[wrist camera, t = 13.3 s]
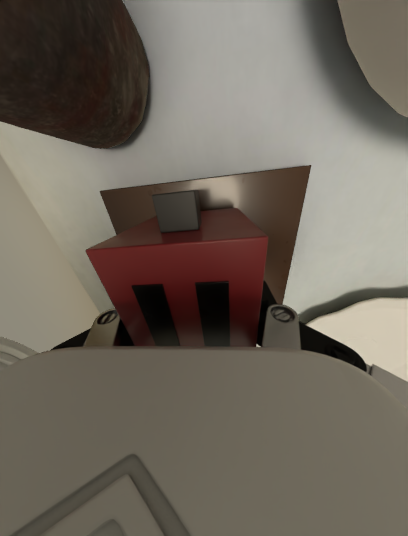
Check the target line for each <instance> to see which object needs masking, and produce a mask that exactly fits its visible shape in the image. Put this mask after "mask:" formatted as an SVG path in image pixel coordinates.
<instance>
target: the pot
mask: <svg viewBox="0 0 408 536" xmlns="http://www.w3.org/2000/svg"><path fill="white" fill-rule="evenodd" d="M337 1H338V5H339V9H340V13H341V17H342V21H343V25H344V29H345V33H346V37H347V41H348V44H349V46H350V48H351V50H352V52H353V54H354V56H355V58H356V60H357V62H358V64H359V66H360V67H361V69H362V71H363V73H364V75H365V77H366V79H367V81H368V83H369V85H370V86H371V87H372V88H373V89H374V90H375V91H376V92H377V93H378V94H379V95H380V96H381V97H382V98H383V99H384V100H385V101H386V102H387V103H388V104H389V105H390V106H391V107H392V108H393V109H394V110H395V111H396V112H397V113H399V114H401V115H403V116H405V117H408V0H337Z"/></svg>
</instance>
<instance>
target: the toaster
mask: <svg viewBox="0 0 408 536" xmlns="http://www.w3.org/2000/svg"><path fill="white" fill-rule="evenodd" d="M152 200H153V204H154V208H155V212H156V216H155V217H153V218H151V219H149V220H147V221H145V222H143V223H141V224H139V225H137V226H134V227H132V228H130V229H128V230H126V231H124V232H122V233H120V234H118V235H116V236H114V237H112V238H109V239H107V240H105V241H103V242H101V243H99V244H97V245H95V246H93V247H91V248H89V249H87V250H86V253H87V255H88V257H89V259H90V261H91V263H92V265H93V267H94V268H95V270H96V272H97V274H98V276H99V278H100V280H101V282H102V284H103V286H104V288H105V290H106V291H107V293H108V295H109V297H110V299H111V301H112V303H113V305H114V307H115V309H116V311H117V312H118V314H119V316H120V318H121V320H122V322H123V324H124V326H125V328H126V330H127V332H128V333H129V335H130V337H131V339H132V341H133V343H134V345H135V346H215V347H256V343H257V334H258V325H259V316H260V307H261V298H262V290H263V281H264V272H265V263H266V254H267V245H268V236H267V235H266V234H265V233H264V232H263V231H262V230H261V229H260V228H258V227H257V226H256V225H255V224H254V223H253V222H252V221H251V220H250V219H249V218H248V217H247V216H246V215H244V214H243V213H242V212H241V211H240V210H239V209H238V208H229V209H219V210H208V211H200V201H199V192H198V190H189V191H180V192H171V193H163V194H154V195H152Z"/></svg>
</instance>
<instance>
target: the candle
mask: <svg viewBox="0 0 408 536" xmlns="http://www.w3.org/2000/svg"><path fill="white" fill-rule="evenodd" d="M148 78H149V67H148V62H147V58H146V55H145V51H144V48H143V44H142V40H141V38H140V36H139V34H138V31H137V29H136V27H135V25H134V23H133V21H132V19H131V17H130V15H129V13H128V11H127V9H126V7H125V5H124V3H123V1H122V0H0V121H1V122H5V123H8V124H11V125H14V126H18V127H21V128H25V129H28V130H32V131H36V132H39V133H42V134H46V135H49V136H53V137H56V138H60V139H64V140H67V141H71V142H75V143H78V144H82V145H86V146H89V147H92V148H100V149H101V148H110V147H113V146H116V145H119V144H121V143H123V142H125V141H126V140H127V139H128V138H129V136H130V135H131V134H132V133H133V132H134V130H135V129H136V128H137V127H138V125H139V124H140V123H141V121H142V119H143V114H144V110H145V105H146V96H147V87H148Z"/></svg>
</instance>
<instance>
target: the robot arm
mask: <svg viewBox="0 0 408 536" xmlns="http://www.w3.org/2000/svg"><path fill="white" fill-rule="evenodd" d="M256 344H258V345H259V346H261V347H215V346H135V345H134V343H133V341H132V339H131V337H130V335H129V333H128V332H127V330H126V328H125V326H124V324H123V322H122V320H121V318H120V316H119V314H118V312H117V311H116V309H115V308H113V309H109V310H107V311H105V312H103V313H101V314H100V315H99V316H98V317H97V318H96V319H95V321H94V323H93V325H92V327H91V328H90V329H89V330H87V331H85V332H83V333H81V334H79V335H77V336H75V337H73V338H71V339H69V340H67V341H65V342H63V343H61V344H59V345H58V346H56V347H54V348H53V349H51V350H50V351H46V352H42V353H38V354H35V355H32V356H29V357H26V358H24V359H19V358H17V357H15V356H12V355H10V354H7V353H4V352H1V351H0V536H408V382H407V381H405V380H403V379H401V378H399V377H397V376H396V375H394V374H392V373H390V372H388V371H386V370H384V369H382V368H380V367H378V366H376V365H374V364H372V366H370V365H368V364H366V363H365V362H364V360H363V359H362V357H361V356H360V355H359V354H358V353H357V352H355V351H354V350H353V349H351V348H350V347H348V346H346V345H344V344H342V343H340V342H338V341H336V340H335V339H333V338H331V337H329V336H327V335H325V334H323V333H321V332H319V331H317V330H315V329H313V328H311V327H309V326H307V325H305V324H303V323H301V322H299V318H298V315H297V313H296V312H295V311H294V310H293V309H292V308H290V307H288V306H286V305H283V304H277V302H276V300H275V298H274V296H273V294H272V292H271V291H270V289H269V287H268V285H267V283H266V281H263V290H262V298H261V307H260V316H259V325H258V334H257V343H256Z"/></svg>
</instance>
